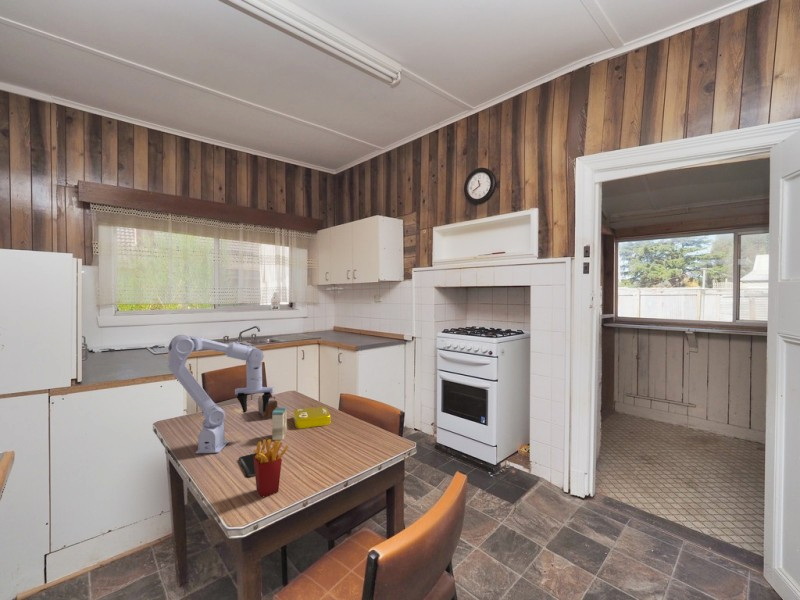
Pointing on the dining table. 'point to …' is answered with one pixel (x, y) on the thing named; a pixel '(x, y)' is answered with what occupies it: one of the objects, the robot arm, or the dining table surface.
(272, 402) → the food item
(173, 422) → the dining table surface
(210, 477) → the dining table surface
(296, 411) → the yellow flat box
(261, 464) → the french fries
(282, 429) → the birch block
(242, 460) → the phone
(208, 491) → the dining table surface
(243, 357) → the robot arm
